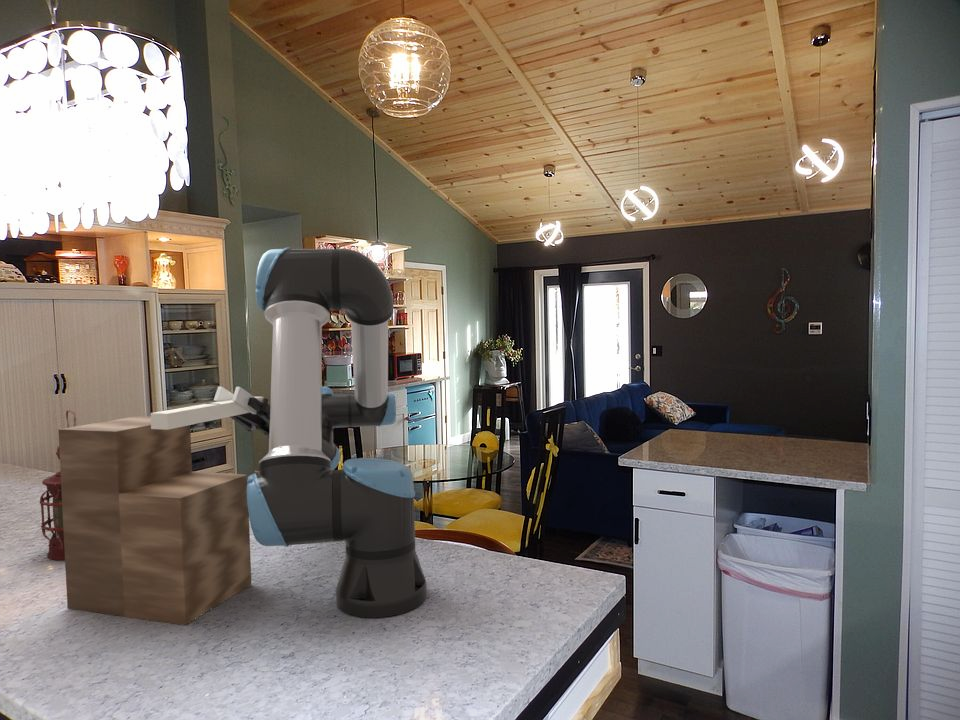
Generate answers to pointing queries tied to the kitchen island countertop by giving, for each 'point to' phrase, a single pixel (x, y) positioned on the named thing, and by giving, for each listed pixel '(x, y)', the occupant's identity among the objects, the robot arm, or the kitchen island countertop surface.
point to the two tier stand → (149, 523)
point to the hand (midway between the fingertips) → (226, 393)
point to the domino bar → (196, 414)
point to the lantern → (54, 510)
